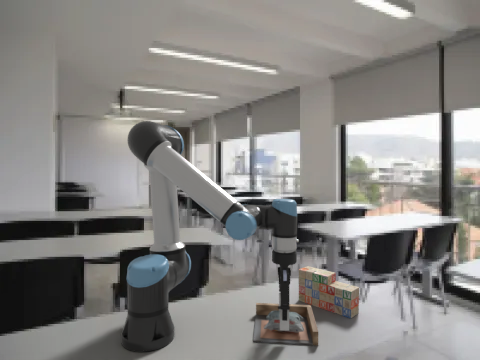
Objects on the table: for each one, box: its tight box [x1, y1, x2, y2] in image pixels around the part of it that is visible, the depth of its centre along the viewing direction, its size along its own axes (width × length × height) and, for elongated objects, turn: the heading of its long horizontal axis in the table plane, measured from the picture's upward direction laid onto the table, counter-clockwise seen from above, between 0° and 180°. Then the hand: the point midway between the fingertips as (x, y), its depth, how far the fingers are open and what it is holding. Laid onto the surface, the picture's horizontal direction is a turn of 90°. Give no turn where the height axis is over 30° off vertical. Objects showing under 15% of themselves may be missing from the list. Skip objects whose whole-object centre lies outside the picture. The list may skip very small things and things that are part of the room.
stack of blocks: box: [298, 265, 360, 319], centre depth 118 cm, size 21×6×12 cm, turn 45°
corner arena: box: [252, 302, 319, 347], centre depth 102 cm, size 18×18×4 cm
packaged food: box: [264, 311, 304, 333], centre depth 100 cm, size 9×12×5 cm
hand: (283, 321), depth 100 cm, fingers open, 10 cm apart
